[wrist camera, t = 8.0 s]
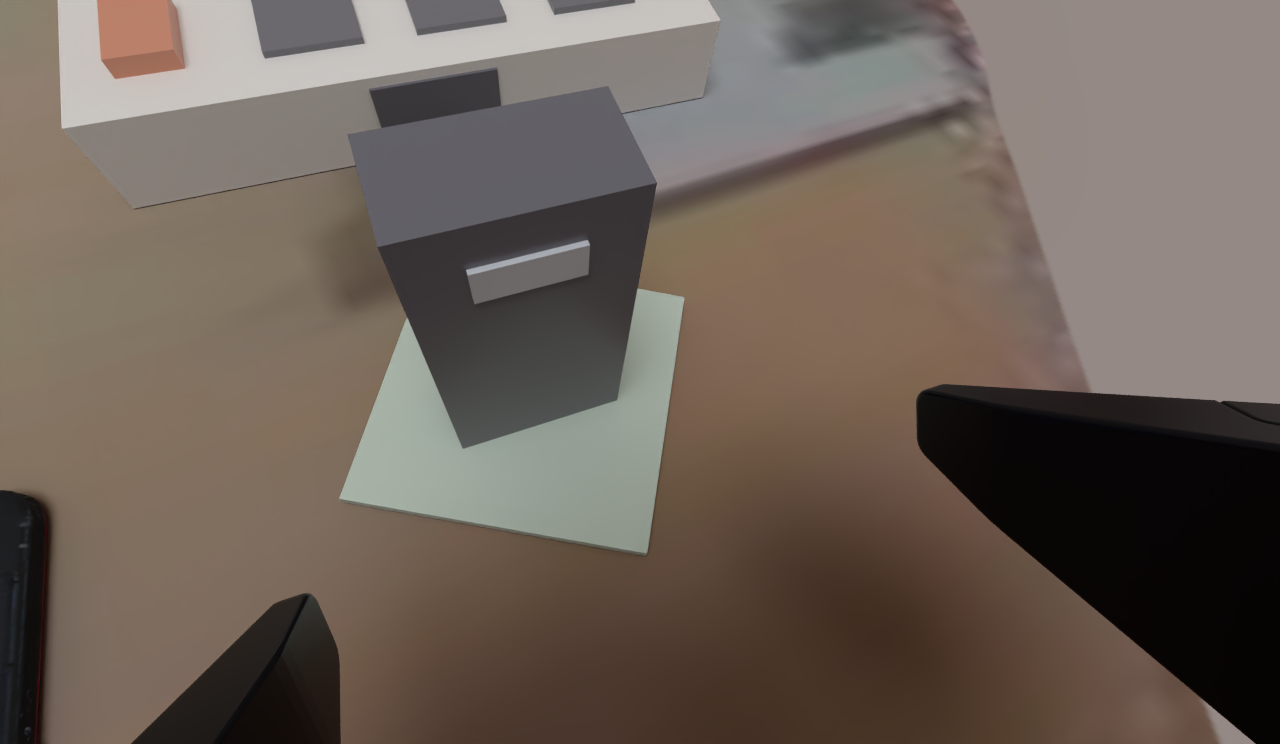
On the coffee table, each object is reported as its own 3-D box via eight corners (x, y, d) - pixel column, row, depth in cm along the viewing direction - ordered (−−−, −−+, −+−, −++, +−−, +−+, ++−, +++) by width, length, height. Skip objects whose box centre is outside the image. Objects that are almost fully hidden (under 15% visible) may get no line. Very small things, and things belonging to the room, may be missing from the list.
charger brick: (618, 403, 21) (659, 188, 12) (464, 452, 19) (378, 252, 11) (590, 333, 22) (607, 86, 13) (441, 375, 21) (346, 134, 12)
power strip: (647, 0, 30) (659, -99, 27) (703, 99, 28) (725, 4, 24) (122, 79, 25) (42, -31, 21) (133, 211, 22) (44, 112, 19)
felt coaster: (682, 303, 23) (684, 297, 23) (645, 556, 19) (647, 553, 19) (434, 256, 23) (432, 250, 23) (343, 502, 19) (339, 499, 19)
